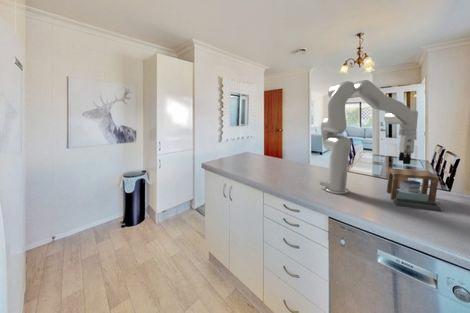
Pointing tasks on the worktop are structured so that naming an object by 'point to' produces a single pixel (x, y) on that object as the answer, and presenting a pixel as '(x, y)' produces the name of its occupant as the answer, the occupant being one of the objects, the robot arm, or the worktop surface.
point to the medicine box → (410, 186)
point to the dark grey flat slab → (417, 204)
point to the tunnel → (418, 174)
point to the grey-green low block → (410, 195)
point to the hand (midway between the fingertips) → (404, 162)
